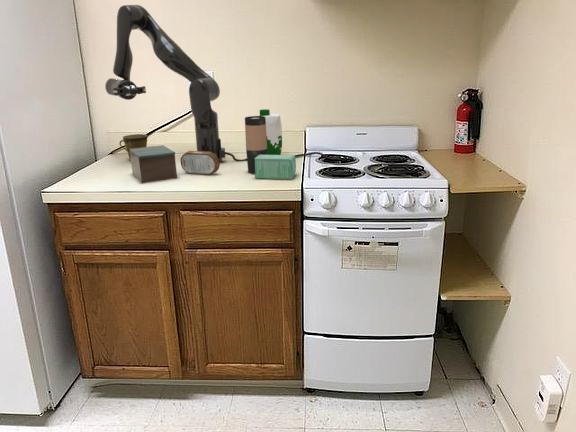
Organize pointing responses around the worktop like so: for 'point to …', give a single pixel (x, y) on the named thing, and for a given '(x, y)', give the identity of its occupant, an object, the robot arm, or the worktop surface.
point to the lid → (152, 151)
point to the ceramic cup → (134, 142)
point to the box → (275, 166)
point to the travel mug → (255, 139)
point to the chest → (153, 168)
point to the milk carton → (273, 132)
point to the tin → (200, 162)
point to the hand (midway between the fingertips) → (134, 91)
